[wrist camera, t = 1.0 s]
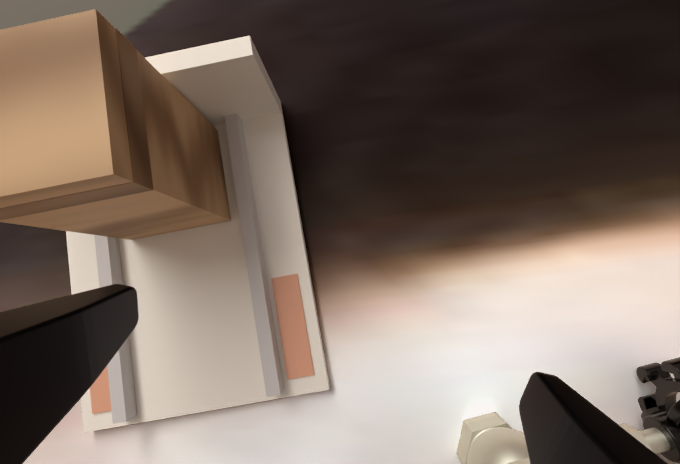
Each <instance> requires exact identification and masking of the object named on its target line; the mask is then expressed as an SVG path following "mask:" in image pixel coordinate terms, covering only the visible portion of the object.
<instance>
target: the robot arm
mask: <svg viewBox="0 0 680 464" xmlns="http://www.w3.org/2000/svg"><path fill="white" fill-rule="evenodd" d="M138 318H139V314H138V299H137V291H136V289H135V288H134V287H131V286H127V285H122V284H113V285H109V286H105V287H101V288H97V289H92V290H88V291H84V292H80V293H76V294H72V295H68V296H64V297H60V298H56V299H52V300H48V301H44V302H40V303H36V304H32V305H28V306H24V307H20V308H16V309H12V310H8V311H4V312H0V464H22V463H23V462H24V461H25V460H26V459H27V458H28V457H29V456H30V455H31V453H32V452H33V451H34V450H35V449H36V448H37V447H38V446H39V444H40V443H41V442H42V441H43V440H44V439H45V438H46V437H47V435H48V434H49V433H50V432H51V431H52V430H53V429H54V428H55V427H56V425H57V424H58V423H59V422H60V421H61V420H62V419H63V418H64V416H65V415H66V414H67V413H68V412H69V411H70V410H71V409H72V407H73V406H74V405H75V404H76V403H77V402H78V401H79V400H80V398H81V397H82V396H83V395H84V394H85V393H86V392H87V390H88V389H89V388H90V387H91V386H92V385H93V383H94V382H95V381H96V379H97V378H98V377H99V376H100V374H101V373H102V372H103V370H104V369H105V368H106V366H107V365H108V364H109V362H110V361H111V360H112V358H113V357H114V356H115V354H116V353H117V351H118V350H119V349H120V347H121V346H122V345H123V343H124V342H125V341H126V339H127V338H128V337H129V335H130V334H131V333H132V331H133V330H134V329H135V327H136V325H137V323H138ZM519 411H520V416H521V421H522V426H523V431H524V436H525V440H526V445H527V450H528V455H529V460H530V464H668V463H666V462H665V461H664V460H663V459H661V458H660V457H659V456H657V455H656V454H655V453H654V452H652V451H651V450H650V449H649V448H647V447H646V446H645V445H643V444H642V443H641V442H640V441H638V440H637V439H636V438H635V437H633V436H632V435H631V434H629V433H628V432H627V431H626V430H624V429H623V428H622V427H621V426H619V425H618V424H617V423H615V422H614V421H613V420H612V419H610V418H609V417H608V416H607V415H605V414H604V413H603V412H601V411H600V410H599V409H598V408H596V407H595V406H594V405H593V404H591V403H590V402H589V401H587V400H586V399H585V398H584V397H582V396H581V395H580V394H578V393H577V392H576V391H575V390H573V389H572V388H571V387H570V386H568V385H567V384H566V383H564V382H563V381H562V380H561V379H559V378H558V377H557V376H554V375H550V374H545V373H540V372H535V373H533V374H532V375H531V377H530V379H529V382H528V384H527V386H526V388H525V391H524V393H523V395H522V398H521V400H520V405H519Z"/></svg>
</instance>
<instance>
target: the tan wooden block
mask: <svg viewBox="0 0 680 464" xmlns="http://www.w3.org/2000/svg"><path fill="white" fill-rule="evenodd" d="M227 221H231V216H230V210H229V203H228V196H227V189H226V183H225V176H224V169H223V162H222V155H221V149H220V142H219V135H218V130H217V129H216V128H215V127H214V126H213V125H212V124H211V123H210V122H209V121H208V120H207V119H206V118H205V117H204V116H203V115H202V114H201V113H200V112H199V111H198V110H197V109H196V108H195V107H194V106H193V105H192V104H191V103H190V102H189V101H188V100H187V99H186V98H185V97H184V96H183V95H182V94H181V93H180V92H179V91H178V90H177V89H176V88H175V87H174V86H172V85H171V84H170V83H169V82H168V81H167V80H166V79H165V78H164V77H163V76H162V75H161V74H160V73H159V72H158V71H157V70H156V69H155V68H154V67H153V66H152V65H151V64H150V63H149V62H148V61H147V60H146V59H145V58H144V57H143V56H142V55H141V54H140V53H139V52H138V51H137V49H136V48H135V47H134V46H133V45H132V44H131V43H130V42H129V41H128V40H127V39H126V38H125V37H124V36H123V35H122V34H121V33H120V32H119V31H118V30H117V29H115V28H114V27H113V26H112V25H111V24H110V23H109V22H108V21H107V20H106V19H105V18H104V17H103V16H102V15H101V14H100V13H99V12H98V11H97V10H96V9H94V10H90V11H85V12H81V13H76V14H72V15H67V16H62V17H57V18H53V19H49V20H44V21H39V22H34V23H30V24H25V25H21V26H16V27H12V28H7V29H2V30H0V222H5V223H12V224H20V225H27V226H34V227H41V228H49V229H56V230H63V231H70V232H77V233H85V234H92V235H99V236H106V237H114V238H121V239H128V240H134V239H139V238H144V237H149V236H154V235H160V234H165V233H170V232H175V231H180V230H185V229H191V228H196V227H201V226H206V225H211V224H216V223H222V222H227Z"/></svg>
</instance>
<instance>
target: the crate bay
mask: <svg viewBox="0 0 680 464" xmlns="http://www.w3.org/2000/svg"><path fill="white" fill-rule="evenodd" d="M145 59H146V60H147V61H148V62H149V63H150V64H151V65H152V66H153V67H154V68H155V69H156V70H157V71H158V72H159V73H160V74H161V75H162V76H163V77H164V78H165V79H166V80H167V81H168V82H169V83H170V84H171V85H172V86H174V87H175V88H176V89H177V90H178V91H179V92H180V93H181V94H182V95H183V96H184V97H185V98H186V99H187V100H188V101H189V102H190V103H191V104H192V105H193V106H194V107H195V108H196V109H197V110H198V111H199V112H200V113H201V114H202V115H203V116H204V117H205V118H206V119H207V120H208V121H209V122H210V123H211V124H212V125H213V126H214V127H215V128H216V129H217V130H218V135H219V142H220V149H221V155H222V162H223V169H224V176H225V183H226V189H227V196H228V203H229V210H230V216H231V221H227V222H222V223H216V224H211V225H206V226H201V227H196V228H191V229H185V230H180V231H175V232H170V233H165V234H160V235H154V236H149V237H144V238H139V239H134V240H128V239H121V238H114V237H106V236H99V235H92V234H85V233H77V232H70V231H66V236H67V247H68V259H69V270H70V281H71V293H72V294H76V293H80V292H84V291H88V290H92V289H97V288H101V287H105V286H109V285H113V284H122V285H127V286H131V287H134V288H135V289H136V291H137V299H138V314H139V318H138V323H137V325H136V327H135V329H134V330H133V331H132V333H131V334H130V335H129V337H128V338H127V339H126V341H125V342H124V343H123V345H122V346H121V347H120V349H119V350H118V351H117V353H116V354H115V356H114V357H113V358H112V360H111V361H110V362H109V364H108V365H107V366H106V368H105V369H104V370H103V372H102V373H101V374H100V376H99V377H98V378H97V379H96V381H95V382H94V383H93V385H92V386H91V387H90V388H89V389H88V390H87V392H86V393H85V394H84V395H83V396H82V397H81V406H82V417H83V429H84V433H85V432H91V431H96V430H102V429H108V428H113V427H119V426H125V425H131V424H136V423H142V422H148V421H154V420H159V419H165V418H171V417H176V416H182V415H188V414H194V413H199V412H205V411H211V410H217V409H222V408H228V407H234V406H239V405H245V404H251V403H257V402H262V401H268V400H274V399H280V398H285V397H291V396H297V395H302V394H308V393H314V392H320V391H325V390H329V388H330V384H329V379H328V373H327V367H326V361H325V355H324V350H323V344H322V338H321V332H320V326H319V321H318V315H317V309H316V303H315V297H314V292H313V286H312V280H311V274H310V269H309V263H308V257H307V251H306V245H305V240H304V234H303V228H302V222H301V216H300V211H299V205H298V199H297V193H296V187H295V182H294V176H293V170H292V164H291V159H290V153H289V147H288V141H287V135H286V130H285V124H284V118H283V112H282V106H281V102H280V99H279V97H278V95H277V93H276V91H275V89H274V87H273V84H272V82H271V80H270V78H269V76H268V74H267V72H266V69H265V67H264V65H263V63H262V61H261V59H260V57H259V54H258V52H257V50H256V48H255V46H254V44H253V42H252V39H251V37H250V36H245V37H241V38H236V39H231V40H226V41H222V42H217V43H212V44H208V45H203V46H198V47H193V48H189V49H184V50H179V51H175V52H170V53H165V54H160V55H156V56H151V57H146V58H145Z"/></svg>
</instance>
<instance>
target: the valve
mask: <svg viewBox="0 0 680 464" xmlns="http://www.w3.org/2000/svg"><path fill="white" fill-rule="evenodd" d="M670 373H673V374H674V377H675V378H672V377H671V375H670ZM637 375H638V377H639V379H640V381H641V382H642V383H646V382H649V381H651V382H652V383H653V384H654V385H655V386H656V387H657V389H656V393H655V394H651V395H647V396H643V397H640V398H639V399H638V402H639V405H640V407H641V410H642V411H643V412H642V414H641V417H642V420H643V427H644V430H642V431H638V430H637V429H635V428H634V427H632V426H630V425H627V424H625V423H623V424H619V426H621V427H622V428H623V429H624V430H626V431H627V432H628V433H629V434H631V435H632V436H633V437H635V438H636V439H637V440H638V441H640V442H641V443H642V444H643V445H645V446H646V447H647V448H649V449H650V450H651V451H652V452H654V453H655V454H658V453H661V454H662V455H663V456H664V457H665V458H667V459H668V460H670V461H672V462H677V463H680V400H679V401H678V402H676V394H677V393H678V392H680V357H679V358H675V359H671V360H667V361H664V362H662V363H661V364H659V363H652V364H648V365H644V366H641V367H638V368H637ZM457 455H458V457H459V459H460V461H461V463H462V464H530V460H529V455H528V450H527V445H526V440H525V436H524V433H522V432H520V431H517V430H514V429H512V428H511V427H510V426H509V425H508V424H507V423H506V422H505V421H504V420H503V419H502V418H501V417H500V416H499V415H498V414H497V413H496V412H492V413H489V414H485V415H481V416H477V417H473V418H470V419H466V420H464V421H463V425H462V430H461V435H460V439H459V444H458V449H457Z"/></svg>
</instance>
